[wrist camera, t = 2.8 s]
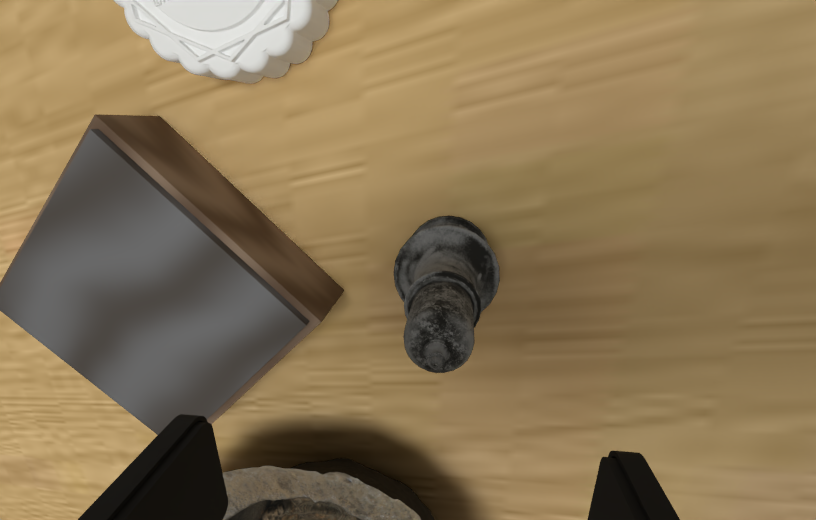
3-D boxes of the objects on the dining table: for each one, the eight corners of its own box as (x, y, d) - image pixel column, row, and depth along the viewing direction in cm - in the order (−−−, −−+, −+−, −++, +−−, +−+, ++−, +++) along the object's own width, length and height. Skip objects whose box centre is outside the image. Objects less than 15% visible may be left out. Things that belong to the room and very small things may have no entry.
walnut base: (343, 290, 26) (318, 326, 22) (220, 407, 32) (177, 456, 27) (159, 116, 24) (86, 114, 19) (59, 274, 29) (-19, 302, 24)
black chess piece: (392, 281, 26) (338, 404, 14) (417, 199, 23) (375, 267, 12) (476, 308, 25) (487, 454, 14) (508, 227, 23) (551, 323, 12)
